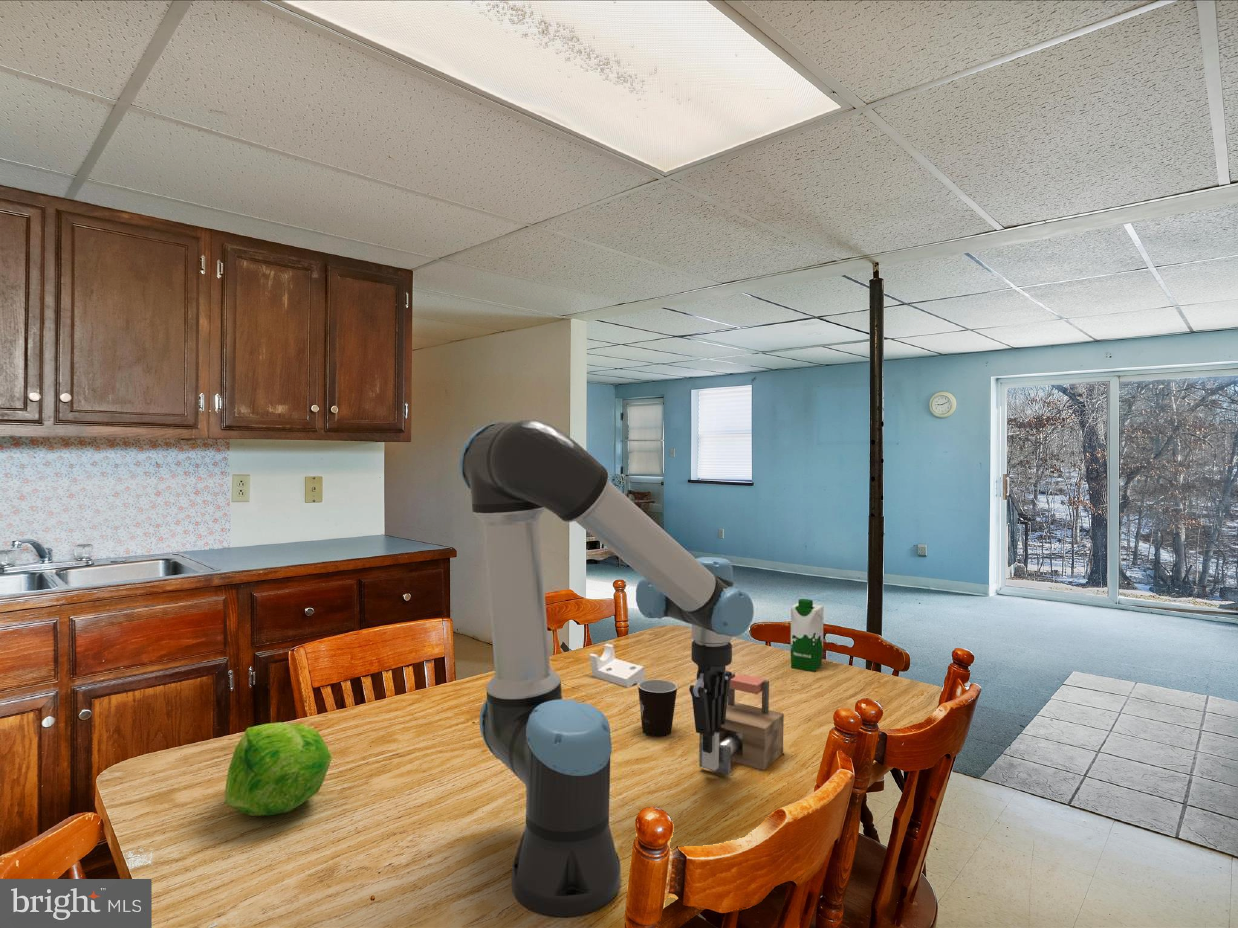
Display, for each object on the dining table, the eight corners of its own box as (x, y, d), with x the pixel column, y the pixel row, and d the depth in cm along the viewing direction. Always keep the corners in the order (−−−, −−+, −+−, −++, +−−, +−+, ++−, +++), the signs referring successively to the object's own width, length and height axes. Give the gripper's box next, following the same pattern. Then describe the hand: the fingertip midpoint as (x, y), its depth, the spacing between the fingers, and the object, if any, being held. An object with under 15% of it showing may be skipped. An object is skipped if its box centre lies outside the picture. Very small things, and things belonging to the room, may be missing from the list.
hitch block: (763, 770, 128) (765, 695, 128) (699, 751, 136) (700, 680, 136) (783, 752, 136) (784, 681, 136) (720, 735, 144) (722, 668, 144)
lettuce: (296, 773, 124) (319, 702, 124) (322, 838, 108) (349, 757, 108) (207, 775, 115) (233, 699, 115) (222, 846, 99) (252, 758, 99)
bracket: (593, 679, 184) (589, 654, 182) (611, 668, 189) (606, 643, 187) (628, 691, 175) (623, 665, 173) (645, 678, 180) (641, 653, 178)
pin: (727, 775, 124) (728, 749, 124) (699, 766, 127) (699, 741, 127) (760, 747, 136) (760, 724, 136) (733, 740, 140) (733, 717, 140)
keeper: (757, 694, 135) (757, 685, 135) (729, 688, 138) (730, 679, 138) (766, 687, 139) (766, 679, 139) (739, 682, 142) (740, 673, 142)
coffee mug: (673, 741, 141) (674, 693, 141) (634, 736, 143) (634, 690, 143) (680, 720, 152) (680, 677, 152) (642, 717, 154) (643, 673, 154)
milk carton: (787, 668, 194) (788, 599, 194) (796, 660, 202) (797, 594, 202) (817, 673, 189) (818, 603, 189) (825, 665, 197) (826, 598, 197)
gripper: (714, 652, 117) (712, 786, 117) (744, 637, 127) (743, 759, 127) (676, 645, 121) (675, 774, 121) (709, 631, 132) (708, 749, 132)
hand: (710, 766), depth 124 cm, fingers closed
